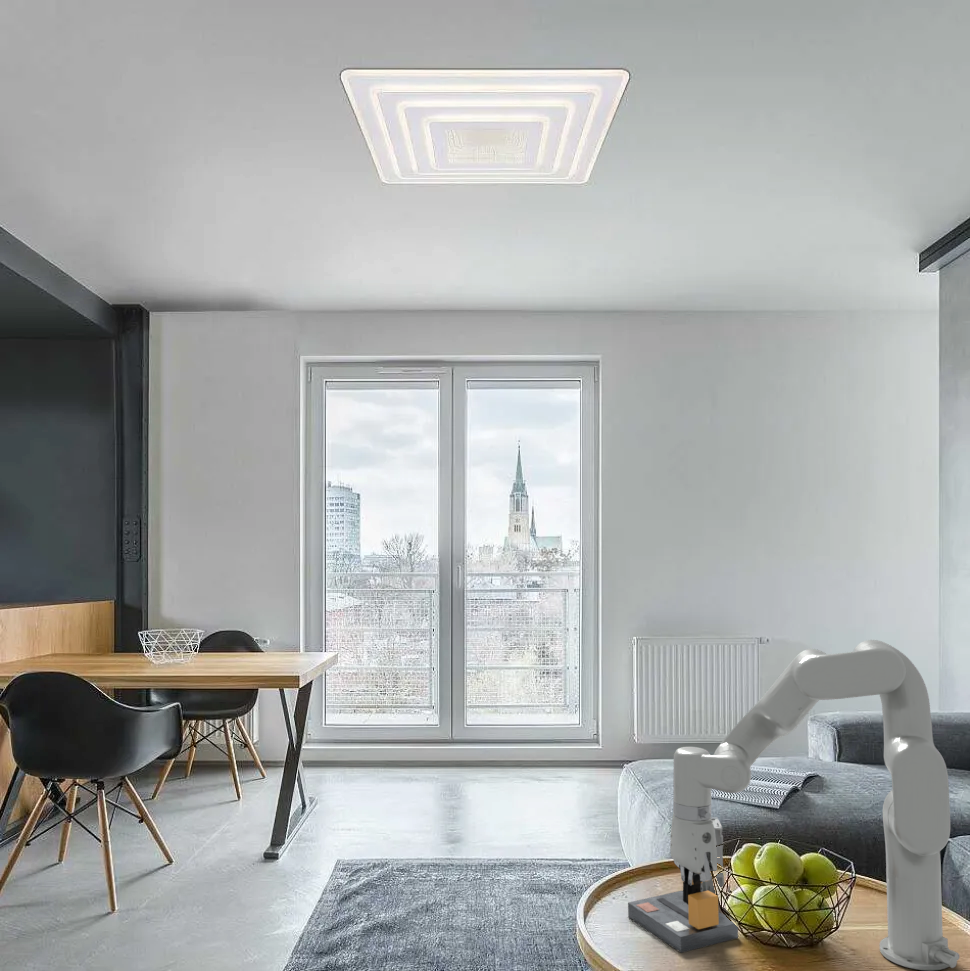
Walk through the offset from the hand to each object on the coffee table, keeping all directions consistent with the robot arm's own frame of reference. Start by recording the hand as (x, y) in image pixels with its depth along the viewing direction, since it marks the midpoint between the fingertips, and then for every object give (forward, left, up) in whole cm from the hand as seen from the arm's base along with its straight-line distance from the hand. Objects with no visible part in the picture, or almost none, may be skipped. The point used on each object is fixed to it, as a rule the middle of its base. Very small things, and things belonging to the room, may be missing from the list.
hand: (691, 902), depth 187 cm
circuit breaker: (+20, -18, -7) cm, 27 cm away
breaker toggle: (-4, 0, -3) cm, 5 cm away
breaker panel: (+4, 0, -6) cm, 7 cm away
